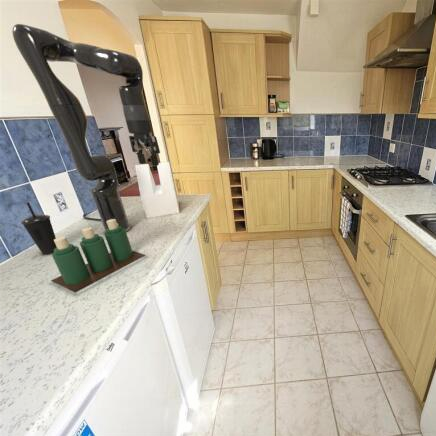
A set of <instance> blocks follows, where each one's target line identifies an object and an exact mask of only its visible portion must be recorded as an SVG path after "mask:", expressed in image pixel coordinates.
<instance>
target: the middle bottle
mask: <svg viewBox="0 0 436 436" xmlns="http://www.w3.org/2000/svg"><path fill="white" fill-rule="evenodd" d="M81 232H82V234H83V237H82V238H81V241H80V242H79V246H80V248H81V251H82V253H83V255H84V258H85V260H86V262H87V263H88V265H89V267H90V270H91V271H92V272H99V271H103V270H106V269H108V268H109V267H111V266H112V264H113V263H112V260H111V257H110V255H109V253H110V252H109V250H108V249H109V248H108V246H107V245H106V241H105V239H104V236H101V235H99V234H98V233H95V231H94V228H93V227H91V226H90V227H85V228H82V229H81Z"/></svg>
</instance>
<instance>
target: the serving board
mask: <svg viewBox="0 0 436 436" xmlns="http://www.w3.org/2000/svg"><path fill="white" fill-rule="evenodd" d="M132 252H133V255H132V256H131V257H130V258H128V259H125V260H121V261H115V260H114V259H113V257H112V254H111V252H109V255H110V257H111V260H112V263H113V264H112V266H111V267H109V268H108V269H106V270H103V271H99V272H92V271H91V270H90V267H89V265H88V262H87V263H85V264H86V267H87V269H88V271H89V274H90V276H89V277H88V278H87V279H86V280H84V281H82V282H80V283H77V284H73V285H67V284H65V282H64V279H63V277H62V275H61V274H60V276H59V275H58V277H55V278H53V279H50V281H51V282H53V283H54V284H57V285H59V286H60V287H63V288H64V289H67V290H68V291H70V292H73V293H74V294H75V293H76V294H77V293H78V292H80V291H82V290H84V289H85V288H87V287H89V286H91V285H93V284H95V283H97V282H98V281H101V280H102V279H104V278H106V277H108V276H110V275H112V274H114V273H116V272H117V271H119V270H121V269H123V268H125V267H126V266H129V265H130V264H132V263H134V262H136V261H138V260H139V259H142V258H144V257H145V256H146V254H144V253H141V252H137V251H134V250H132Z"/></svg>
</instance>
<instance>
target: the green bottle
mask: <svg viewBox="0 0 436 436" xmlns="http://www.w3.org/2000/svg"><path fill="white" fill-rule="evenodd" d="M106 222H107V225H108V228H107V229H106V232H105V231H104V233H103V235H104V237H105V239H106V243H107V245H108V246H107V247H108V249H109V251H110V253H111V254H112V257H113V259H114V260H115V261H121V260H125V259H128V258H130V257H131V256H132V255H133V252H132V251H133V249H132V246H131V243H130V240H129V236H128V233H127V231H126V230H125V228H122V227H121V226H118V225H117V222H116V219H110V220H108V221H106Z"/></svg>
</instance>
